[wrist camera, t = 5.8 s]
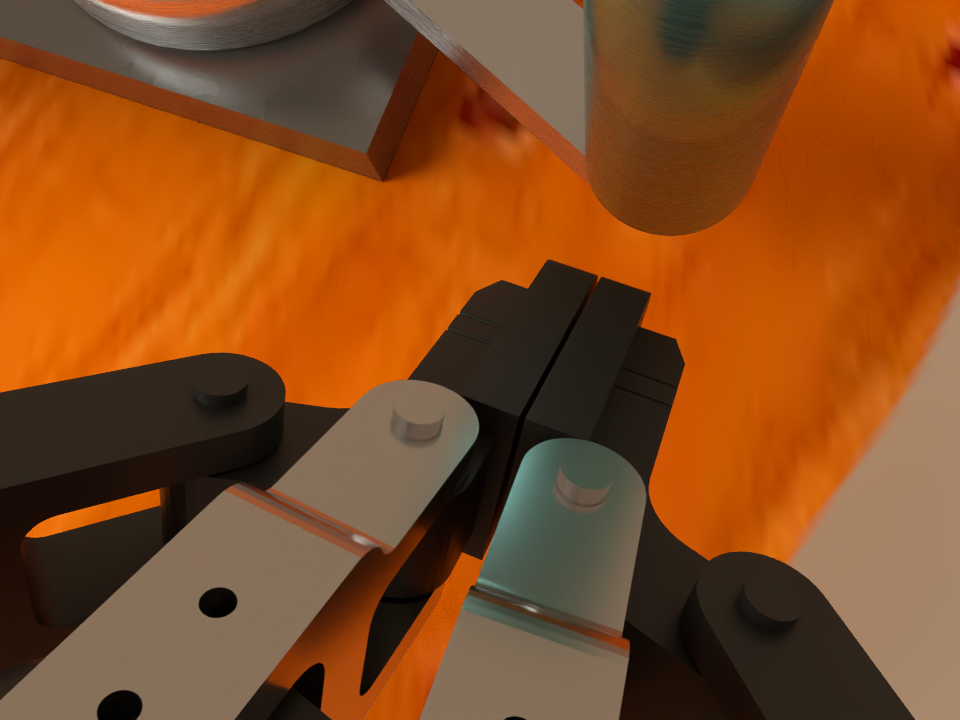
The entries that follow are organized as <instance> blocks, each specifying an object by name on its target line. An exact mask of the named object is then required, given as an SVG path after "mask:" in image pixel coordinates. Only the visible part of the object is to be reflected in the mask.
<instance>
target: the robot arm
mask: <svg viewBox="0 0 960 720" xmlns="http://www.w3.org/2000/svg"><path fill="white" fill-rule="evenodd" d="M597 280H598V275H595V274H592V273H589V272H586V271H583V270H580V269H577V268H574V267H571V266H568V265H565V264H562V263H559V262H556V261H553V260H550V259H549V260H547V261H546V263H545V264H544V266H543V267H542V269H541V270H540V272H539V273H538V275H537V276H536V278H535V279H534V281H533V282H532V284H531V285H530V287H529V288H528V289H527V288H524V287H521V286H518V285H515V284H512V283H509V282H506V281H504V280H501V281H498V282H496V283H494V284H492V285H490V286H487V287H485V288H483V289H481V290H478V291H476V292H475V293H474V294H473V296H472V297H471V298H470V299H469V301H468V302H467V303H466V305H465V306H464V307H463V308H462V310H461V312H460V314H459V315H457V316H456V317H455V319H454V320H453V321H452V323H451V324H450V325H449V327H448V330H445V332H444V333H443V334H442V336H441V337H440V338H439V339H438V341H437V342H436V343H435V345H434V346H433V347H432V348H431V350H430V351H429V352H428V354H427V355H426V356H425V358H424V359H423V360H422V361H421V363H420V364H419V365H418V367H417V368H416V369H415V370H414V372H413V373H412V374H411V376H410V377H409V378H408V379H407V380H399V381H392V382H388V383H384V384H382V385H379V386H377V387H375V388H373V389H371V390H370V391H368V392H367V393H366V394H365V395H363V396H362V398H361V399H360V400H359V401H358V402H357V403H356V404H355V405H354V406H353V407H352V408H341V409H338V408H326V407H319V406H311V405H304V404H297V403H289V402H285V393H286V391H285V386H284V383H283V381H282V379H281V377H280V376H279V375H278V373H277V372H276V371H275V370H273V369H272V368H271V367H270V366H268V365H267V364H265V363H263V362H261V361H259V360H257V359H254V358H251V357H248V356H244V355H239V354H233V353H208V354H201V355H196V356H190V357H185V358H180V359H175V360H169V361H164V362H159V363H154V364H148V365H143V366H138V367H133V368H127V369H122V370H117V371H112V372H106V373H101V374H96V375H91V376H85V377H80V378H75V379H70V380H64V381H59V382H54V383H48V384H43V385H38V386H33V387H27V388H22V389H17V390H12V391H6V392H1V393H0V720H364V718H365V716H366V714H367V713H368V711H369V709H370V708H371V706H372V705H373V703H374V702H375V700H376V698H377V697H378V695H379V694H380V692H381V691H382V689H383V688H384V686H385V684H386V683H387V681H388V680H389V678H390V677H391V675H392V674H393V672H394V670H395V669H396V667H397V666H398V664H399V663H400V661H401V660H402V658H403V656H404V655H405V653H406V652H407V650H408V649H409V647H410V646H411V644H412V642H413V641H414V639H415V638H416V636H417V635H418V633H419V632H420V630H421V628H422V627H423V625H424V624H425V622H426V621H427V619H428V618H429V616H430V614H431V613H432V611H433V610H434V608H435V607H436V605H437V603H438V601H439V599H440V597H441V594H442V590H443V586H444V582H445V581H446V580H447V578H448V577H449V576H450V574H451V572H452V570H453V568H454V566H455V565H456V563H457V561H458V559H459V557H460V555H461V553H462V552H463V553H466V554H468V555H470V556H473V557H475V558H478V559H480V560H482V559H483V557H484V554H485V552H486V550H487V548H488V546H489V544H490V542H491V540H492V542H491V545H490V547H489V550H488V553H487V555H486V558H485V561H484V564H483V566H482V569H481V572H480V574H479V577H478V580H477V582H476V585H475V586H473V585H472V586H471V588H470V589H469V592H468V594H467V596H466V598H465V601H464V603H463V606H462V609H461V611H460V614H459V617H458V619H457V622H456V624H455V627H454V630H453V632H452V635H451V638H450V640H449V643H448V645H447V648H446V651H445V653H444V656H443V659H442V661H441V664H440V667H439V669H438V672H437V674H436V677H435V680H434V682H433V685H432V688H431V690H430V693H429V696H428V698H427V701H426V703H425V706H424V709H423V711H422V714H421V717H420V719H419V720H915V719H914V717H913V716H912V715H911V713H910V712H909V711H908V709H907V708H906V707H905V705H904V704H903V703H902V701H901V700H900V698H899V697H898V696H897V695H896V693H895V692H894V690H893V689H892V687H891V686H890V685H889V683H888V682H887V681H886V680H885V678H884V677H883V675H882V674H881V672H880V671H879V670H878V669H877V667H876V666H875V664H874V663H873V662H872V660H871V659H870V658H869V656H868V655H867V653H866V652H865V651H864V649H863V648H862V647H861V645H860V644H859V643H858V641H857V640H856V639H855V637H854V636H853V634H852V633H851V632H850V630H849V629H848V628H847V626H846V625H845V623H844V622H843V621H842V619H841V618H840V617H839V615H838V614H837V613H836V611H835V610H834V609H833V607H832V606H831V604H830V603H829V602H828V600H827V599H826V598H825V596H824V595H823V594H822V593H821V592H820V590H819V589H818V588H817V587H816V586H815V585H814V584H813V583H812V582H811V581H810V580H809V579H807V578H806V577H805V576H804V575H802V574H801V573H800V572H798V571H797V570H795V569H793V568H792V567H790V566H789V565H787V564H785V563H783V562H781V561H778V560H776V559H774V558H771V557H768V556H765V555H761V554H757V553H752V552H729V553H725V554H721V555H719V556H717V557H715V558H713V559H711V560H710V561H708V560H707V559H705V558H704V557H702V556H701V555H699V554H698V553H697V552H695V551H694V550H692V549H691V548H689V547H688V546H686V545H685V544H684V543H682V542H681V541H680V540H678V539H677V538H676V537H675V536H674V535H673V534H672V533H671V532H670V531H669V530H668V529H667V528H666V527H665V526H664V524H663V523H662V522H661V521H660V519H659V518H658V516H657V514H656V513H655V511H654V509H653V506H652V504H651V501H650V497H649V487H648V486H649V481H650V476H651V473H652V470H653V467H654V463H655V460H656V457H657V454H658V450H659V447H660V444H661V441H662V437H663V434H664V431H665V428H666V424H667V421H668V418H669V414H670V411H671V407H672V405H673V401H674V398H675V395H676V392H677V388H678V385H679V382H680V379H681V375H682V372H683V369H684V365H685V363H684V360H683V357H682V355H681V352H680V349H679V346H678V343H677V341H676V339H674V338H671V337H668V336H665V335H662V334H659V333H656V332H653V331H650V330H647V329H644V328H642V327H641V324H642V321H643V318H644V315H645V312H646V309H647V306H648V303H649V300H650V297H651V293H649V292H646V291H643V290H640V289H637V288H634V287H631V286H628V285H625V284H622V283H619V282H616V281H613V280H610V279H607V278H604V277H601V278H600V280H599V282H598V284H597ZM156 489H160V505H161V506H157V507H153V508H149V509H146V510H142V511H138V512H135V513H131V514H127V515H124V516H120V517H116V518H113V519H109V520H105V521H102V522H98V523H94V524H91V525H87V526H83V527H79V528H76V529H72V530H68V531H65V532H61V533H57V534H54V535H50V536H46V537H40V538H30V537H25V536H26V534H27V533H28V532H29V531H30V530H31V529H32V528H33V527H35V526H36V525H37V524H39V523H40V522H42V521H44V520H46V519H48V518H51V517H54V516H57V515H60V514H64V513H68V512H72V511H76V510H80V509H83V508H87V507H91V506H95V505H99V504H103V503H106V502H110V501H114V500H118V499H122V498H125V497H129V496H133V495H137V494H141V493H145V492H148V491H152V490H156ZM493 536H494V537H493ZM492 538H493V539H492Z"/></svg>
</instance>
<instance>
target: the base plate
mask: <svg viewBox="0 0 960 720" xmlns="http://www.w3.org/2000/svg"><path fill="white" fill-rule="evenodd" d="M437 51H438V48H437V47H436V46H435V45H433V44H432V43H431V42H430V41H429V40H428V39H427V38H426V37H425V36H423V35H422V34H421V33H420V32H419V31H418V30H417V29H416V28H415V27H413V26H412V25H411V24H410V23H409V22H408V21H407V20H406V19H405V18H403V17H402V16H401V15H400V14H399V13H398V12H397V11H396V10H395V9H393V8H392V7H391V6H390V5H389V4H388V3H387V2H386V1H384V0H353V1H351V2H350V3H348V4H346V5H345V6H343V7H342V8H340V9H339V10H337V11H336V12H334V13H333V14H331V15H329V16H328V17H326V18H324V19H322V20H320V21H318V22H316V23H314V24H312V25H310V26H308V27H306V28H304V29H302V30H300V31H297V32H294V33H292V34H289V35H286V36H283V37H281V38H278V39H275V40H272V41H268V42H264V43H260V44H255V45H251V46H247V47H241V48H232V49H223V50H183V49H176V48H169V47H162V46H157V45H154V44H150V43H147V42H143V41H140V40H136V39H133V38H131V37H129V36H126V35H124V34H122V33H120V32H117V31H115V30H113V29H111V28H109V27H108V26H106V25H105V24H103V23H101V22H100V21H98V20H97V19H95V18H94V17H92V16H90V15H89V14H88V13H87V12H86V11H85V10H84V9H82V8H81V7H80V6H79V5H78V4H77V3H76V2H74V1H73V0H0V58H2V59H5V60H8V61H11V62H15V63H18V64H21V65H24V66H27V67H30V68H33V69H36V70H39V71H42V72H45V73H48V74H52V75H55V76H58V77H61V78H64V79H67V80H70V81H73V82H76V83H79V84H82V85H85V86H89V87H92V88H95V89H98V90H101V91H104V92H107V93H110V94H113V95H116V96H119V97H122V98H126V99H129V100H132V101H135V102H138V103H141V104H144V105H147V106H150V107H153V108H156V109H159V110H163V111H166V112H169V113H172V114H175V115H178V116H181V117H184V118H187V119H190V120H193V121H196V122H199V123H203V124H206V125H209V126H212V127H215V128H218V129H221V130H224V131H227V132H230V133H233V134H236V135H240V136H243V137H246V138H249V139H252V140H255V141H258V142H261V143H264V144H267V145H270V146H273V147H277V148H280V149H283V150H286V151H289V152H292V153H295V154H298V155H301V156H304V157H307V158H310V159H314V160H317V161H320V162H323V163H326V164H329V165H332V166H335V167H338V168H341V169H344V170H347V171H351V172H354V173H357V174H360V175H363V176H366V177H369V178H372V179H375V180H378V181H381V182H383V179H384V177H385V174H386V172H387V170H388V167H389V165H390V163H391V160H392V158H393V155H394V153H395V151H396V148H397V146H398V144H399V141H400V139H401V136H402V134H403V132H404V129H405V127H406V125H407V122H408V120H409V118H410V115H411V113H412V110H413V108H414V106H415V103H416V101H417V99H418V96H419V94H420V91H421V89H422V87H423V84H424V82H425V80H426V77H427V75H428V73H429V70H430V68H431V65H432V63H433V61H434V58H435V56H436V54H437Z"/></svg>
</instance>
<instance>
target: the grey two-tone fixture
mask: <svg viewBox="0 0 960 720" xmlns="http://www.w3.org/2000/svg"><path fill="white" fill-rule="evenodd" d="M73 1H74V2H76V3H77V4H78V5H79V6H80V7H81V8H82V9H84V10H85V11H86V12H87V13H88V14H89V15H90V16H92V17H94V18H95V19H97V20H98V21H100V22H101V23H103V24H105V25H106V26H108V27H109V28H111V29H113V30H115V31H117V32H120V33H122V34H124V35H126V36H129V37H131V38H133V39H136V40H140V41H143V42H147V43H150V44H154V45H157V46H162V47H169V48H176V49H183V50H223V49H232V48H241V47H247V46H251V45H255V44H260V43H264V42H268V41H272V40H275V39H278V38H281V37H283V36H286V35H289V34H292V33H294V32H297V31H300V30H302V29H304V28H306V27H308V26H310V25H312V24H314V23H316V22H318V21H320V20H322V19H324V18H326V17H328V16H329V15H331V14H333V13H334V12H336V11H337V10H339V9H340V8H342V7H343V6H345V5H346V4H348V3H350V2H351V1H353V0H73ZM384 1H386V2H387V3H388V4H389V5H390V6H391V7H392V8H393V9H395V10H396V11H397V12H398V13H399V14H400V15H401V16H402V17H403V18H405V19H406V20H407V21H408V22H409V23H410V24H411V25H412V26H413V27H415V28H416V29H417V30H418V31H419V32H420V33H421V34H422V35H423V36H425V37H426V38H427V39H428V40H429V41H430V42H431V43H432V44H433V45H435V46H436V47H437V48H438V49H439V50H440V51H441V52H442V53H443V54H445V55H446V56H447V57H448V58H449V59H450V60H451V61H452V62H453V63H455V64H456V65H457V66H458V67H459V68H460V69H461V70H462V71H463V72H465V73H466V74H467V75H468V76H469V77H470V78H471V79H472V80H473V81H475V82H476V83H477V84H478V85H479V86H480V87H481V88H482V89H483V90H485V91H486V92H487V93H488V94H489V95H490V96H491V97H492V98H493V99H495V100H496V101H497V102H498V103H499V104H500V105H501V106H502V107H503V108H505V109H506V110H507V111H508V112H509V113H510V114H511V115H512V116H513V117H515V118H516V119H517V120H518V121H519V122H520V123H521V124H522V125H523V126H525V127H526V128H527V129H528V130H529V131H530V132H531V133H532V134H533V135H535V136H536V137H537V138H538V139H539V140H540V141H541V142H542V143H544V144H545V145H546V146H547V147H548V148H549V149H550V150H551V151H552V152H554V153H555V154H556V155H557V156H558V157H559V158H560V159H561V160H562V161H564V162H565V163H566V164H567V165H568V166H569V167H570V168H571V169H572V170H574V171H575V172H576V173H577V174H578V175H579V176H580V177H581V178H582V179H584V180H585V181H586V182H587V183H588V184H589V185H590V186H591V187H592V190H593V191H594V193H595V195H596V197H597V198H598V200H599V201H600V202H601V204H602V205H603V206H604V207H605V208H606V209H607V210H608V211H609V213H610V214H612V215H613V216H614V217H616V218H617V219H618V220H619V221H621V222H623V223H625V224H626V225H628V226H630V227H632V228H635V229H637V230H639V231H643V232H646V233H650V234H656V235H665V236H676V235H685V234H690V233H695V232H698V231H701V230H704V229H706V228H708V227H711V226H713V225H715V224H716V223H718V222H720V221H721V220H723V219H724V218H726V217H727V216H728V215H729V214H730V213H731V212H733V211H734V210H735V209H736V207H737V206H738V205H739V204H740V203H741V202H742V200H743V199H744V197H745V196H746V194H747V193H748V191H749V189H750V187H751V185H752V182H753V180H754V178H755V176H756V173H757V171H758V169H759V167H760V165H761V162H762V160H763V158H764V156H765V153H766V151H767V149H768V147H769V144H770V142H771V140H772V138H773V136H774V133H775V131H776V129H777V127H778V124H779V122H780V120H781V118H782V115H783V113H784V111H785V109H786V107H787V104H788V102H789V100H790V98H791V95H792V93H793V91H794V89H795V86H796V84H797V82H798V80H799V78H800V75H801V73H802V71H803V69H804V66H805V64H806V62H807V60H808V57H809V55H810V53H811V51H812V48H813V46H814V44H815V42H816V40H817V37H818V35H819V33H820V31H821V28H822V26H823V24H824V22H825V19H826V17H827V15H828V13H829V11H830V8H831V6H832V4H833V2H834V0H583V9H582V8H581V7H580V6H579V5H578V4H576V3H575V2H574V1H573V0H384Z"/></svg>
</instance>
